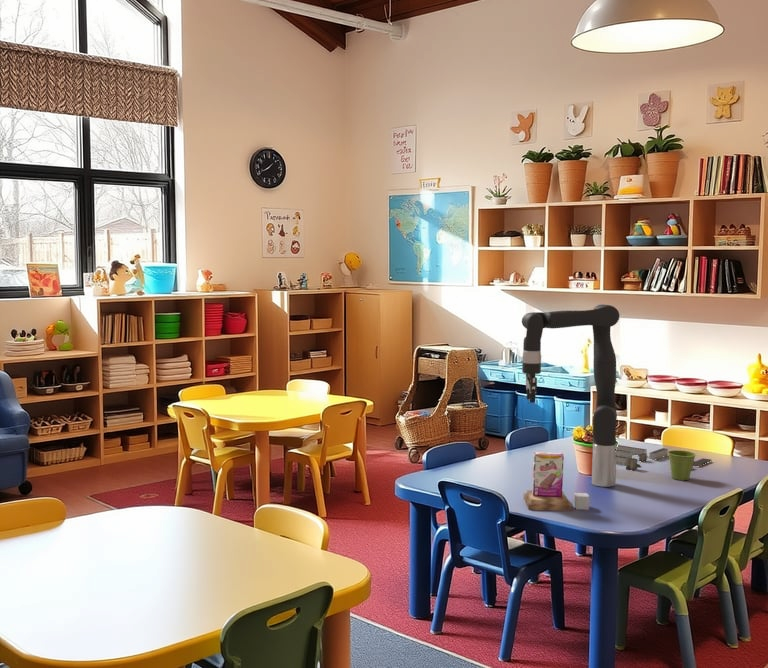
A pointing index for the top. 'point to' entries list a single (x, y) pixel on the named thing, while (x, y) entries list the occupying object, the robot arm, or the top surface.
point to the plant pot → (681, 463)
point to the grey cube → (581, 500)
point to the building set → (643, 456)
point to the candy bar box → (547, 474)
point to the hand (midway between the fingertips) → (530, 400)
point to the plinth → (548, 507)
